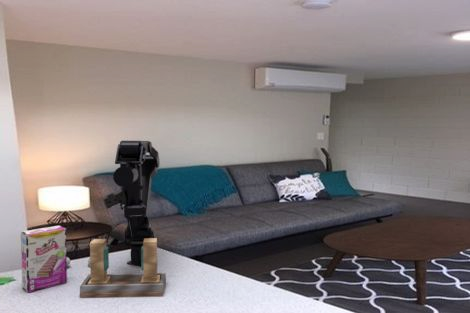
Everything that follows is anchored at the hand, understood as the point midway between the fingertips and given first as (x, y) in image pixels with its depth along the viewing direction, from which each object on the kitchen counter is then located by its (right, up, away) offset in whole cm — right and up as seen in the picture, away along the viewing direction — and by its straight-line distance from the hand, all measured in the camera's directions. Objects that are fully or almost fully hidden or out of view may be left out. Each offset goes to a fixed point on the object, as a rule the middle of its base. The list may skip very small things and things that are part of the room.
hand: (132, 233), depth 132 cm
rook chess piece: (-14, -12, +9) cm, 21 cm away
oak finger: (+7, -13, -10) cm, 18 cm away
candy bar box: (-23, -14, -8) cm, 28 cm away
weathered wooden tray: (0, -14, -10) cm, 17 cm away
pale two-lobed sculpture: (-24, -13, +5) cm, 28 cm away
